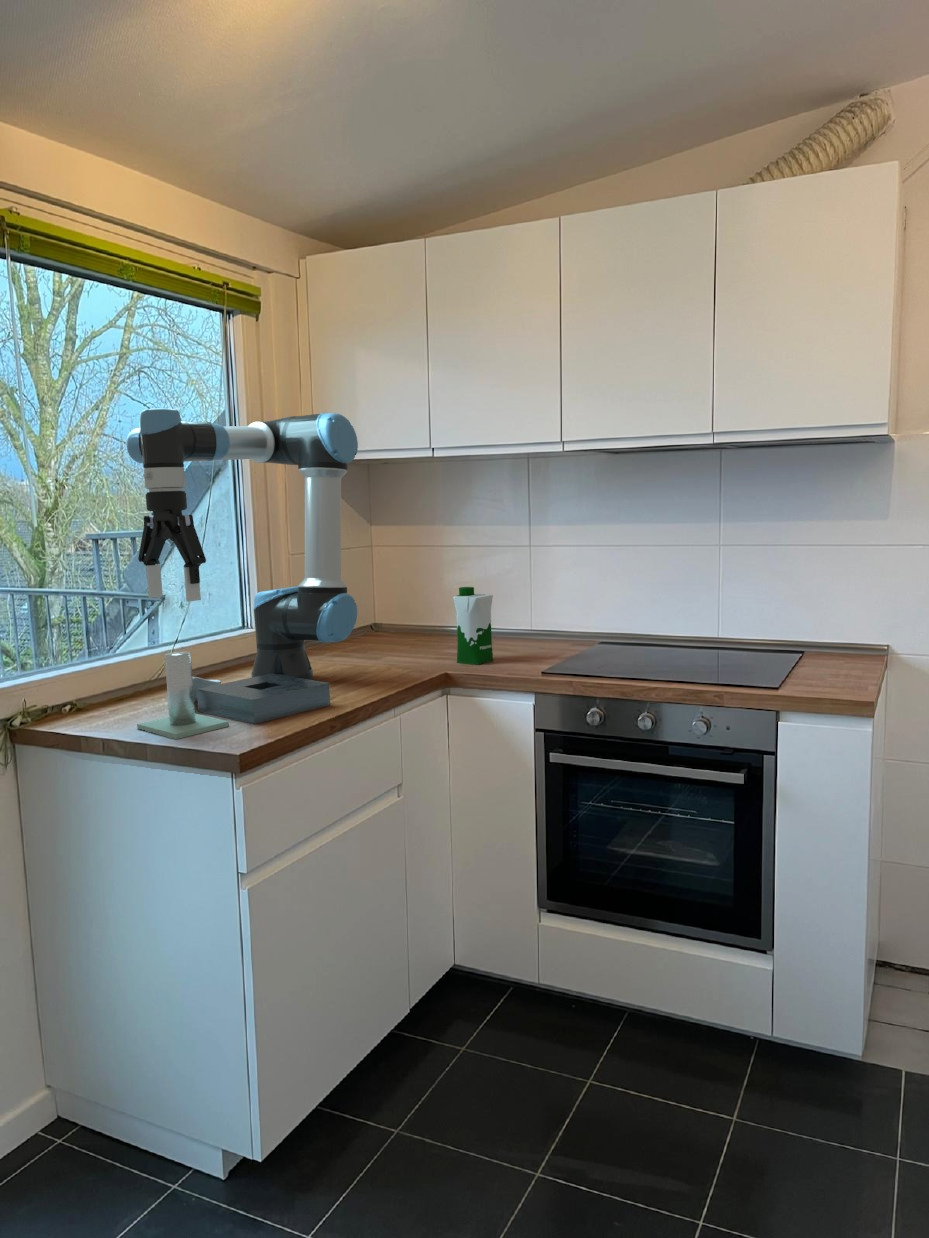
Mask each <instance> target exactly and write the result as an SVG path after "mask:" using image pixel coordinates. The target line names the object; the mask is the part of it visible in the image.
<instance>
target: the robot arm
mask: <svg viewBox="0 0 929 1238" xmlns="http://www.w3.org/2000/svg"><path fill="white" fill-rule="evenodd" d="M125 444H126V450H127V453H128V455H129V456H130V458H131V459H132V460H133V461H134V462H137V463H138V464H142V465H143V475H142V476H143V478H144V487H145V489H146V490H148V492H146V493H145V504H146V506H145V507H146V510H147V511H148V512H153V515H144V516H143V529H142V530H143V531H142V534H141V535H142V537H141V542H140V546H139V552H138V562H140V563H143V565H144V566H145V571H146V572H145V574H146V581H147V590H148V591H147V592H148V593H147V595H148V599H155V598H162V597H164V596H163V595H164V594H163V583H162V573H161V572H162V570H161V562H160V560H159V559H160V557H161V555H162V551H163V549H164V546H165V544H166V541H167V540H170V541H172V542H173V543H174V545H175V547H176V548H177V551H178V552H179V554H180V556H181V558H182V560H183V562H184V565H183V573H184V575H183V576H184V588H185V597H186V598H185V599H186V602H189V603H190V602H195V601H201V600H202V598H201V597H202V596H201V584H200V582H201V579H200V578H201V577H200V567H201V566H202V565H203V564H205V563H206V562H207V559H206V555H205V552H204V550H203V547H202V544H201V542H200V537H199V536H198V533H197V530H196V527H195V523H194V516H193V515H192V514H183V511H186V510H187V508H188V502H187V501H188V499H187V493H186V491H185V490H183V489H185V488H186V487H187V486H186V484H187V483H186V475H185V473H186V472H185V462H203V461H204V462H205V461H206V462H208V461H209V462H210V461H230V460H233V461H235V460H250V461H252V462H254V463H258V464H267V463H268V464H278V465H279V464H280V465H287V466H297V469H298V473H300V474H301V476H303V478H304V578H303V580H302V581H301V582H300V583H299V584H298V585H297V586H292V587H291V586H290V587H284V588H283V587H282V588H277V589H270V590H263V591H259V592H257V593H256V594H255V595H254V598H253V617H254V629H255V639H256V640H255V642H256V654H255V658H254V662H253V666H252V667H253V668H252V671H251V677H250V678H253V677H258V676H263V675H268V674H278V675H284V676H290V677H297V678H303V679H309V680H314V670H313V667H312V665H311V663H310V660H309V657H308V654H307V651H306V648H305V641H307V642H321V643H324V644H325V643H338V642H343V641H344V640H345V639H347V638H348V637H349V636H350V634H351V633H352V631H354V628H355V626H356V623H357V618H358V605H357V603H356V602H355V601H356V600H355V599H354V597H353V596H352V595H350V594H349V593H348V585H347V584H346V583H345V582H344V581H343V580H342V570H341V569H342V561H341V560H342V558H341V557H342V478H343V477H344V476H346V474H347V473H348V464H350V463H351V462H352V461H353V460H354V459H355V458H356V455H357V454H358V450H359V449H358V448H359V442H358V437H357V433H356V431H355V429H354V426H353V425H352V423H351V422H350V421H349V418H347V417H345V415H342V414H340V413H336V412H335V413H331V412H330V413H329V412H321V413H316V414H305V415H297V416H296V415H295V416H288V417H282V418H277V419H273V420H267V421H266V420H265V421H254V422H252V423H250V424H249V425H246V426H245V425H244V426H241V425H239V426H238V425H236V426H235V425H231V426H230V425H228V426H226V425H225V426H224V425H221V424H219V423H215V422H214V423H213V422H211V421H207V422H198V421H184V420H183V421H182V418H181V414H180V411H179V410H178V409H174V408H165V407H164V408H163V407H162V408H161V407H160V408H157V407H156V408H146V409H143V410H142V411H141V412H140V413H139V428H138V427H137V428H134V429H132V430H131V431H130V432H129V433H128V435H127V438H126V443H125Z"/></svg>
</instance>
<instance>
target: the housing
mask: <svg viewBox="0 0 929 1238" xmlns="http://www.w3.org/2000/svg"><path fill="white" fill-rule="evenodd" d="M330 691H331V690H330V682H326V681H320V680H314V679H312V680H309V679H303V678H297V677H290V676H284V675H278V674H268V675H263V676H258V677H253V678H251V677H248V678H243V679H237V680H235V681H233V680H232V681H228V682H224V683H221V684H218V685H213V686H208V687H203V688H198V689H197V699H198V701H197V712H199V713H204V714H208V715H213V716H217V717H220V718H226V719H231V720H233V721H238V722H243V723H248V724H253V725H255V724H256V725H257V724H260V723H265V722H269V721H272V720H273V721H274V720H277V719H281V718H284V717H289V716H292V715H297V714H301V713H305V712H309V711H312V710H317V709H321V708H326V707H330V706H331V696H330V693H331V692H330Z"/></svg>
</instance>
